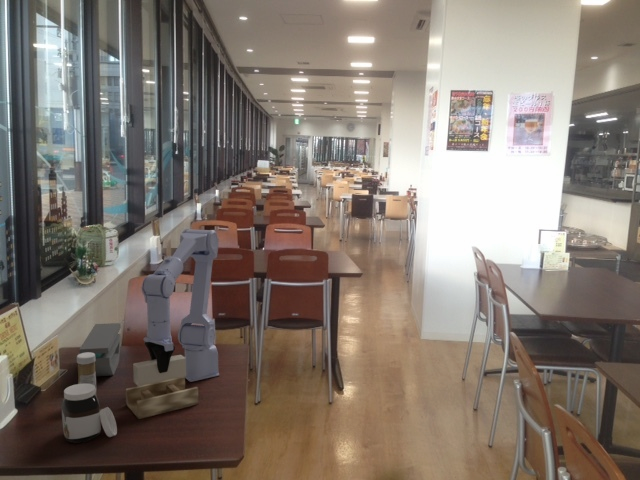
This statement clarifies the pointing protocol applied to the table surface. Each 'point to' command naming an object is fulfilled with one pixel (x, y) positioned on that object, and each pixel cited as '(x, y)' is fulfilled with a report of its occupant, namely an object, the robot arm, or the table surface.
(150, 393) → the wooden compartment tray
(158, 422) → the table surface
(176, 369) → the grayish beige rectangular block
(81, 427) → the spread jar
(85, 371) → the sprinkles bottle
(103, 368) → the grey long box
